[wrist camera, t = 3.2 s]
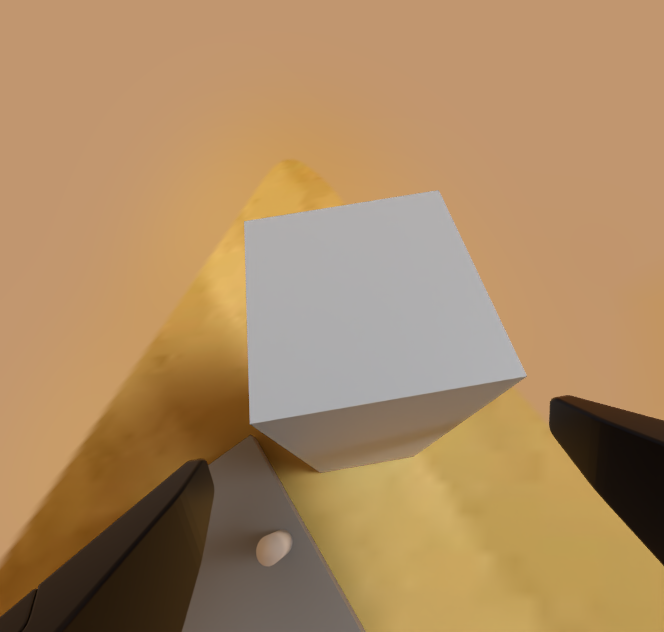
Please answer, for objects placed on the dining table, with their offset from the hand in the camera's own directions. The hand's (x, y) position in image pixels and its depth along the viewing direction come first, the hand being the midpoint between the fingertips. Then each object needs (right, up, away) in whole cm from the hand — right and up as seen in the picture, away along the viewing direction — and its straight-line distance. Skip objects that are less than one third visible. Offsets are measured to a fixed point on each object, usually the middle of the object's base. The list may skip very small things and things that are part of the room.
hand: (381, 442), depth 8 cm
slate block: (0, -2, +10) cm, 10 cm away
